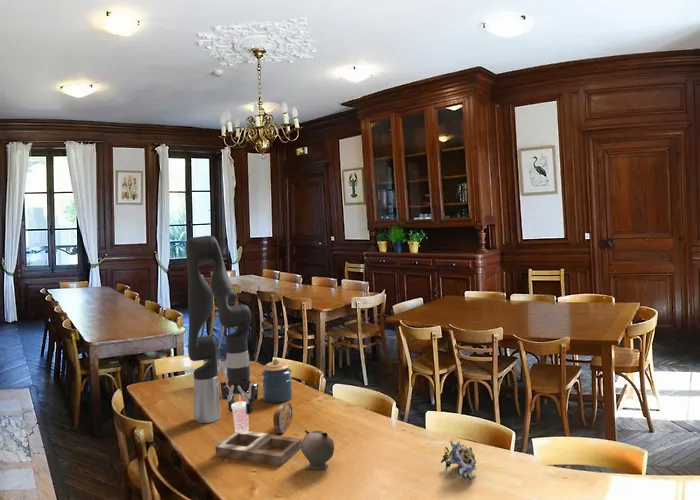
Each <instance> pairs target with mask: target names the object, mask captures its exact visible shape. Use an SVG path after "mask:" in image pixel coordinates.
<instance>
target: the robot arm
mask: <svg viewBox="0 0 700 500" xmlns="http://www.w3.org/2000/svg"><path fill="white" fill-rule="evenodd" d="M185 256H186V257H185V258H186V259H185V260H186V265H187V268H186V269H187V278H188V279H187V281H188V282H187V285H188V286H187V289H188V290H187V291H188V293H187V301H188V302H187V306H188V308H187V309H188V310H187V311H188V337H187V338H188V340H187V354H188V358H189V360H191V361H192V362H198V361H204V360H207V359H208V361H207V362H206V363H205V364H204V365H203V364H202V365H201V366H199V367H197V368H195V370H193V386H194V395H193V396H192V403H193V404H192V405H193V419H194V421H196V422H197V423H199V424H209V423H214V422H216V421H218V420H220V419H221V404H220V389H221V396H222V400H225V401H226V402H227V404H228V409H227V410H228V411H229V413H233V411H232V408H231V405H232V404H233V403H236V402H235V397H236V395H239V394H240V396H241V397H242V398H243V399H244V400H245V402H246V403H247V404H246V414H249V415H250V414H252V413H253V411H254V409H253V403H254V402H256V401H258V396H259V384H258V382H256V383H252V382H251V380H250V377H251V372H250V371H251V369H250V355H249V349H248V348H249V347H248V336H249V331H250V325H251V321H252V313H251V309H250V307H249V306H248V305H246V304H238V305H233V304H234V303H236V301H237V299H238V295H237V292H236V290H235V288H234V286H233V284H232V282H231V280H230V278H229V275H228V272H227V269H226V265H225V262H224V258H223V254H222V251H221V248H220V245H219V242H218V240H217V238H215V236H213V235H203V236H194V237H193V236H192V237H189V238H188V239H187V241H186V243H185ZM208 261H212V263H213V271H212V275H211V278H210V285H209V283H208V282H207V281H206V280H205V278H204V277H203V275H202V274H201V272H200V269H199V263H202V262H208ZM214 298H215V301H216V304H217V311H218V319H219V324H220V325H221V326H222V327H224V328H226V329H230V328H231V329H232V328H235V327H236V330H235V331H234V332H231V333H230V334H228V335H226V337H225V345H226V348H225V349H226V358H225V359H226V362H227V372H226V377H227V379H228V380H226V379H224V380H223V381H221V382H220V383H219V372H218V369H217V358H218V342H217V338H216V337H215V335H210V334H209V335H204V336H202V335H201V336H199V333H200V332H201V329H202V327H203V326H204V324H205V322H206V321H207V320H208V319H209V317H210V315H212V311H213V309H214ZM218 384H220V385H221V387H219V386H218ZM228 386H229V388H228Z"/></svg>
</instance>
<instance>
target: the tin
mask: <svg viewBox="0 0 700 500" xmlns="http://www.w3.org/2000/svg"><path fill="white" fill-rule="evenodd" d="M272 422H273V428H274V432H275V433H276V434H284V433H285V432H286V431H287V429H289V428H290V426H291V424H292V422H293V407H292V405H291V403H290V402H286V403H285V402H282V403H281V404H280V405H279V406H278V408H277V409H276V410H275V412H274V414H273V419H272Z"/></svg>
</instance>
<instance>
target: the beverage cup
mask: <svg viewBox="0 0 700 500" xmlns="http://www.w3.org/2000/svg"><path fill="white" fill-rule="evenodd" d="M241 397H242V396H241V395H240V394H238V401H237V402H235V403H233V404H232V405H231V408H232V411H233V412H232V418H233V424H234V425H233V427H234V433H244V432H246V431H249V425H250V424H249V421H250V420H249V418H250V417H249V415H250V414H246V404H247V403H246V401H243V400H241Z"/></svg>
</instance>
